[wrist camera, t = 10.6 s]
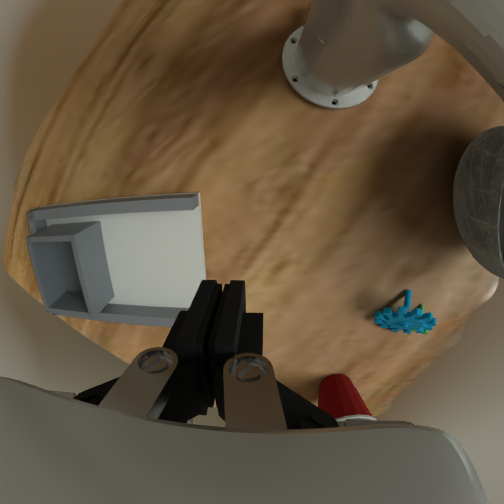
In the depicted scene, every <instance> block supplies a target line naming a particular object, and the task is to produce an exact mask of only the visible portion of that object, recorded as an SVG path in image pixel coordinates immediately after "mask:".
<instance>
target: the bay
mask: <svg viewBox="0 0 504 504" xmlns="http://www.w3.org/2000/svg"><path fill="white" fill-rule="evenodd" d="M27 217H28V223H29V228H30V233H31V235H32V234H34V233H36V232H38V231H40V230H42V229H44V228H46V227H48V226H50V225H52V224H65V223H79V222H94V221H100V223H101V230H102V236H103V242H104V248H105V253H106V258H107V264H108V269H109V273H110V278H111V283H112V287H113V291H114V297H113V298H112V299H111V301H110V302H109V303H108V304H107V305H106V306H105V307H104V308H103V310H102V311H101V312H100V313H99V314H98V315H97V316H96V318H88V317H80V316H73V315H65V314H59V313H52V314H55V315H61V316H68V317H75V318H83V319H90V320H98V321H107V322H116V323H126V324H137V325H149V326H162V327H172V326H173V324H174V322H175V320H176V318H177V316H178V314H179V312H180V311H181V310H185V311H188V310H189V307H190V305H191V303H192V301H193V298H194V296H195V294H196V292H197V290H198V287H199V285H200V283H201V281H202V280H206V270H205V258H204V245H203V232H202V217H201V201H200V192H196V193H176V194H159V195H144V196H131V197H119V198H108V199H98V200H88V201H79V202H71V203H62V204H54V205H47V206H41V207H38V208H36V209H33V210H31V211H28V212H27Z"/></svg>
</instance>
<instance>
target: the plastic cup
mask: <svg viewBox="0 0 504 504" xmlns="http://www.w3.org/2000/svg"><path fill="white" fill-rule="evenodd" d="M318 408H320V409H322V410H323V411H325V412H327V413H328V414H330V415H331V416H332V417H333V418H335V419H336V421H343V422H345V421H346V418H347V419H360V420H376V419H375V418H374V417H373V416H372V414H371V413H370V412H369V410H368V408H367V407H366V405H365V404H364V402H363V400H362V398H361V396H360V395H359V393H358V391H357V389H356V388H355V387H354V385H353V383H352V381H351V380H350V379H349V377H347V376H346V375H343V374H333V375H331V376H328V377H327V378H325V379H324V380H323V381H322V382H321V384H320V388H319V400H318Z"/></svg>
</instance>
